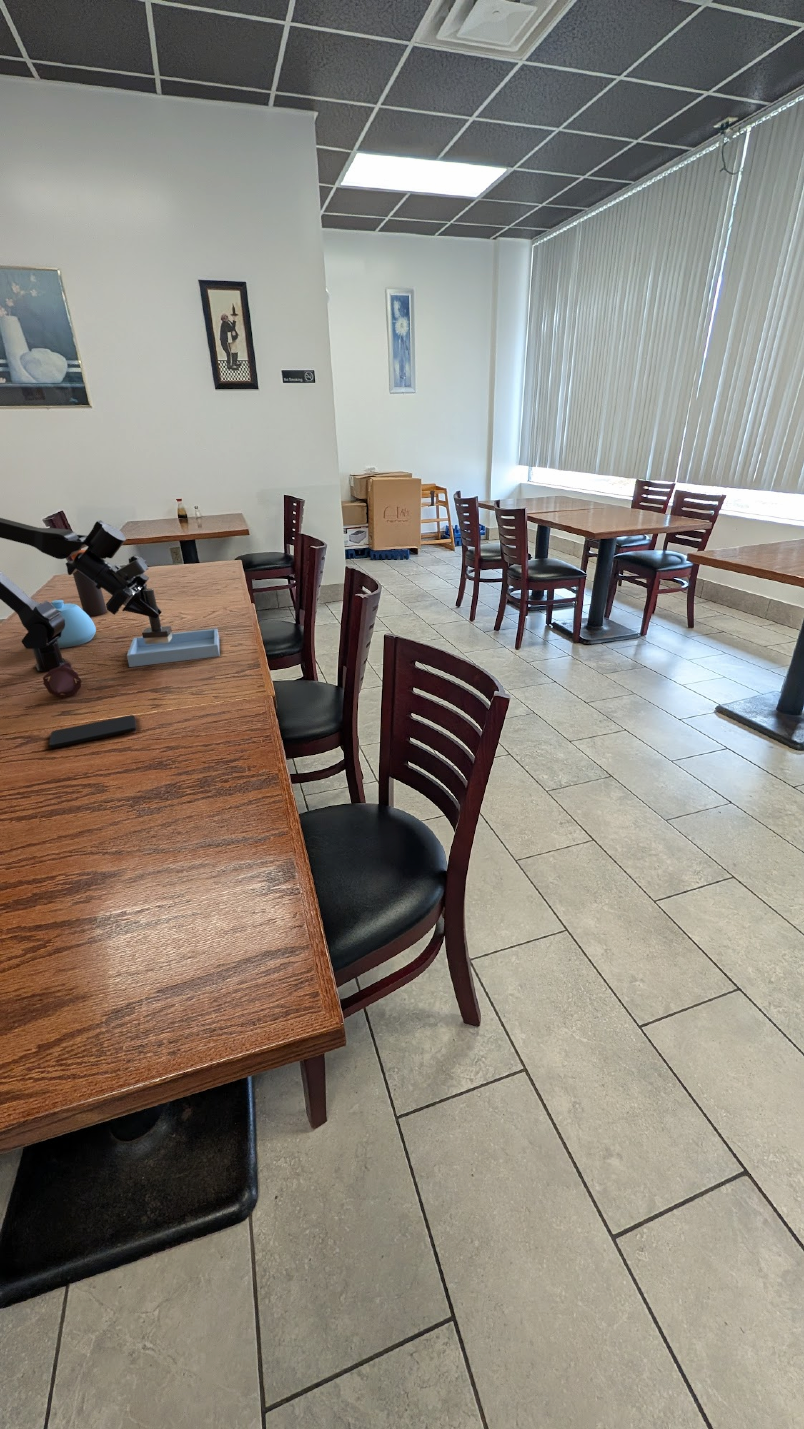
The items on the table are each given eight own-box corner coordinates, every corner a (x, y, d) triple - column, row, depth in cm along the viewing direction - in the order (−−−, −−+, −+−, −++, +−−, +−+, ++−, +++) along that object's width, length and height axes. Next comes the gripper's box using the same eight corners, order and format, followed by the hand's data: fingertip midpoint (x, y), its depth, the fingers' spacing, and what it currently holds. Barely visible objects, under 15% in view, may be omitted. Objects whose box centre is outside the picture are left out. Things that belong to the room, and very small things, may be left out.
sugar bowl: (108, 637, 168) (98, 597, 163) (57, 653, 156) (44, 611, 151) (78, 630, 175) (68, 591, 170) (28, 644, 164) (14, 604, 159)
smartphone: (50, 731, 112) (134, 714, 118) (51, 734, 113) (135, 718, 118) (47, 746, 107) (136, 727, 112) (49, 750, 107) (137, 731, 113)
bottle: (79, 616, 189) (61, 553, 180) (93, 610, 195) (76, 549, 186) (98, 616, 188) (81, 553, 179) (111, 610, 194) (95, 549, 185)
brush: (144, 644, 145) (132, 592, 139) (149, 638, 149) (137, 588, 143) (169, 642, 146) (158, 591, 140) (173, 637, 150) (162, 586, 144)
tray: (129, 667, 145) (126, 655, 144) (136, 648, 158) (133, 637, 156) (219, 656, 150) (217, 644, 149) (219, 639, 163) (217, 628, 161)
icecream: (77, 677, 123) (86, 659, 136) (36, 673, 120) (50, 656, 133) (76, 708, 124) (86, 688, 138) (36, 706, 122) (49, 686, 135)
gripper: (108, 554, 128) (170, 600, 134) (132, 540, 145) (186, 582, 151) (80, 591, 131) (142, 635, 137) (106, 573, 148) (160, 613, 154)
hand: (159, 615), depth 145 cm, fingers closed on brush, 2 cm apart
